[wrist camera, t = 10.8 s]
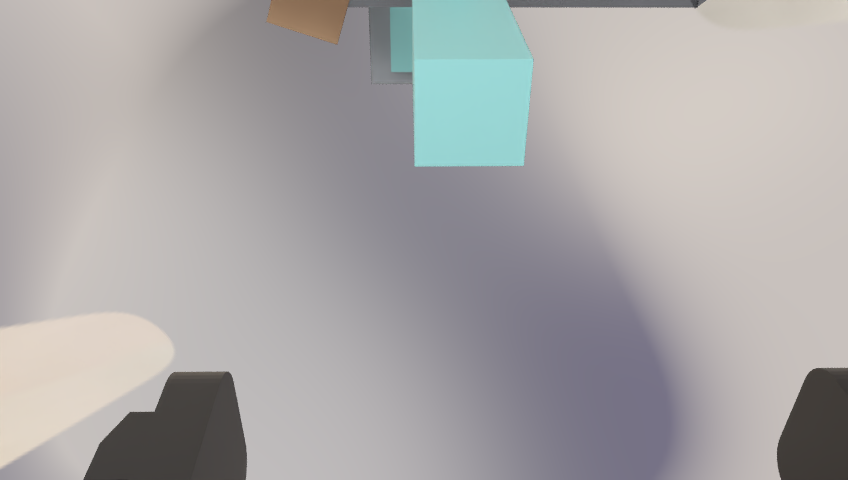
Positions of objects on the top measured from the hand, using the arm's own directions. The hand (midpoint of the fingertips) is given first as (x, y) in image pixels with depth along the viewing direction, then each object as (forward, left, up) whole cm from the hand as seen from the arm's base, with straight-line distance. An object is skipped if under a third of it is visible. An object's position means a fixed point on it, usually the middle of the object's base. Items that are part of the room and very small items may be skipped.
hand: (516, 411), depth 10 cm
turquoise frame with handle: (0, 0, -29) cm, 29 cm away
